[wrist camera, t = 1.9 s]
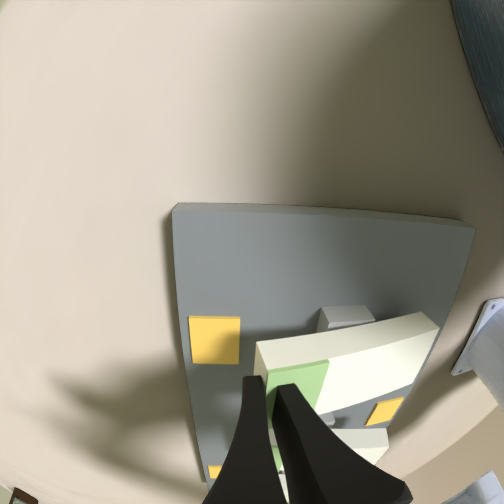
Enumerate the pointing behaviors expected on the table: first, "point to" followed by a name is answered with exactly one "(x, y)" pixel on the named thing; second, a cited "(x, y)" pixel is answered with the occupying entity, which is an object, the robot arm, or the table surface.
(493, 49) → the planter
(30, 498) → the olive oil
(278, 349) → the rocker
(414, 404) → the table surface
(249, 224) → the switch unit
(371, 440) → the block
